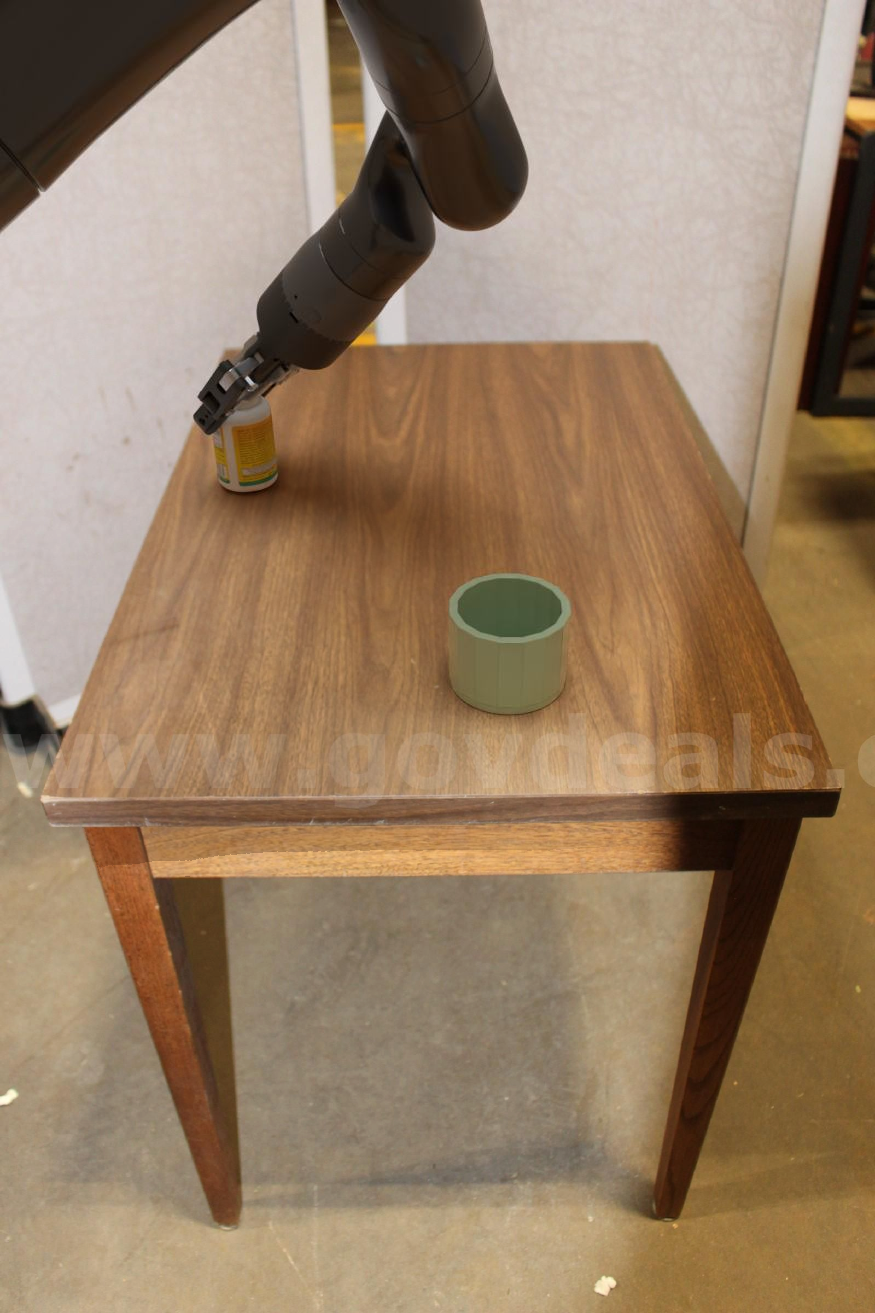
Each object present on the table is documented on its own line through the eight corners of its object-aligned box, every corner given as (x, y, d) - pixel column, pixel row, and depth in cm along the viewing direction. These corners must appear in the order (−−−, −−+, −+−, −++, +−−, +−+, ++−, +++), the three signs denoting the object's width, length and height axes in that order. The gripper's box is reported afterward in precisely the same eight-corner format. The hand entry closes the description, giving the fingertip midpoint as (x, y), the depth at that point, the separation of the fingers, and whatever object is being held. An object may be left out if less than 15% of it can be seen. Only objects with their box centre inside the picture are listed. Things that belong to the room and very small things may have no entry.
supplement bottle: (208, 488, 95) (192, 387, 90) (236, 462, 100) (222, 363, 94) (262, 497, 94) (249, 394, 88) (288, 470, 98) (277, 370, 92)
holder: (476, 727, 70) (477, 654, 66) (432, 658, 76) (431, 587, 72) (585, 697, 72) (592, 625, 68) (534, 632, 78) (538, 563, 74)
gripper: (345, 232, 86) (245, 350, 98) (237, 284, 76) (139, 409, 88) (404, 307, 87) (298, 415, 99) (305, 368, 77) (200, 480, 89)
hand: (224, 412), depth 94 cm, fingers closed on supplement bottle, 5 cm apart
